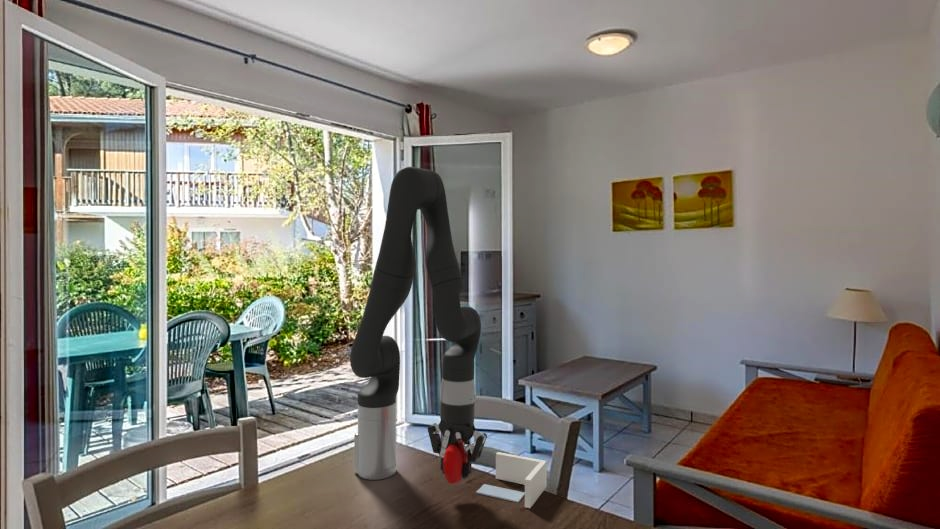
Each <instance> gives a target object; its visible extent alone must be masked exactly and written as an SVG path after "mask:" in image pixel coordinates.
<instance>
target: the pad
mask: <svg viewBox="0 0 940 529" xmlns="http://www.w3.org/2000/svg"><path fill="white" fill-rule="evenodd" d="M475 494H478V495H484V496H488V497H491V498H497V499H501V500H505V501H510V502H514V503H519V502H520V501H521V500H522V498H523V497H525V491H523V492H522V491H519V490H515V489H510V488H504V487H500V486H495V485H492V484H491V485H490V484H486V483H484V484H482V485H481V486H480V488H479V489H477V490H476V491H475Z"/></svg>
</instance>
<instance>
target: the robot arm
mask: <svg viewBox="0 0 940 529" xmlns="http://www.w3.org/2000/svg"><path fill="white" fill-rule="evenodd" d="M388 195H389V196H388V202H387V209H386V210H387V211H386V217H385V224H384V229H383V234H382V238H381V242H380V248H379V252H378V256H377V259H376V263H375V265H374V266H375V267H374V270H373V273H372V274H373V275H372V278H371V285H370V287H369V293H368V296H367V301H366V303H365V307H364V311H363V315H362V318H361V321H360V323H359V327H358V328H357V331H356V334H355V337H354V339H353V342H352V345H351V346H352V347H351V349H350V355H349V363H350V368H351V370H352V372H353V375H355V376H356V377H358V378H362V379H363V378H364V379H366V378H368V379H369V378H370V380H369V381H368V382H367V384H365V385H364V386H363V387H362V388H361V389H360V390H359V391H358V393H357V432H356V433H355V434H354V439H353V440H354V443H353V444H354V445H353V446H354V448H353V449H354V474H357V475H358V476H359V477H360V478H362V479H364V480H371V481H374V480H375V481H376V480H378V481H379V480H383V479H387V478H390V477H392V476H393V475H394V476H395V474H396V472H397V394H398V392H399V388H400V372H401V353H400V348H399V345H398V343H397V341H396V340H395V339H394V337H392V336H390V335H384V334H385V331H386V329H387V327H388V325H389V323H390V322H391V320H392V319H393V317H394V316H395V314H396V313H397V312H398V311H399V310H400V308H401V307H402V306H403V304H404V303H405V302H406V300H407V298H408V297H409V294H410V292H411V289H412V285H413V282H414V278H415V275H416V268H417V262H416V260H417V259H416V255H415V249H414V246H413V240H412V232H413V225H414V222H415V218H416V215H417V211H418V210H420V211H421V214H422V216H423V219H424V222H425V225H426V230H427V231H426V233H427V237H426V238H427V239H426V249H425V267H426V272H427V275H428V280H429V282H430V285H431V289H432V293H433V306H434V310H433V311H434V320H435V321H434V322H435V326H436V329H437V331H438V332H439V335H440V336H441V338H443V339H444V340H445V341H448V342H450V347H449V349H448V350H446V351H445V352H444V354H443V357H442V362H441V364H442V366H441V368H442V369H441V370H442V372H441V384H440V397H439V398H440V402H439V404H440V405H439V418H440V422H438V424H437V423H436V422H434V423H432V424H431V425H430V426H428V427H427V433H428V436H429V439H430V445H431V448H432V449H431V450H432V452H433V453H434V454H438V455H439V457H440V470H441V472H442V475H445V474H444V470H443V460H444V453H445V451H446V449H447V448H448V447H449V444H450V445H454V444H455V445H457V446H459V450H460V452H461V453H462V457H463V461H464V462H463V464H462V476H461V480H462V479H463V480H467V479H468V478H469V476H471V475H472V467H473V466H472V463H475V462H476V461H477V460H478V459H480V457H481V455H482V452H483V449H484V447H485V444H486V441H487V438H488V434H487V433H486V432H483V433H480V432H479V431H477V430H476V426H475V407H476V406H475V405H476V401H475V400H476V387H475V386H476V384H475V358H476V355H477V351H478V348H479V347H478V346H479V342H480V337H481V332H482V322H481V318H480V315H479V313H478V311H477V310H476V309H475V308H474V307H471V306H468V305H467V306H466V305H463V306H461V299H460V298H461V296H460V295H461V294H463V293H464V291H465V282H464V279H463V276H462V272H461V268H460V265H459V262H458V258H457V254H456V251H455V248H454V244H453V237H452V230H451V223H450V217H449V216H450V215H449V210H448V203H447V195H446V190H445V184H444V181H443V179H442V177H441V175H440V174H439V173H438V172H437V171H434V170H433V169H427V168H421V167H416V166H403V167H401V168H400V169H399V170H397V172H396V173H395V175H394V177H393V179H392V181H391V185H390V191H389V194H388ZM440 433H441V434H440ZM441 435H442V436H443V439H442V438H441ZM472 438H474V439H473V440H474V441H473V442H474V447H473V450H472V442H471V439H472Z"/></svg>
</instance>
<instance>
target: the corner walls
mask: <svg viewBox="0 0 940 529" xmlns="http://www.w3.org/2000/svg"><path fill="white" fill-rule="evenodd" d="M547 465H548V462H547V460H544V459H543V460H542V459H538V458H532V457H526V456H521V455H517V454H511V453H504V452H500V451H497V452H496V453H495V479H496V480H500V481H501V480H502V481H505V482H510V483H516V484H520V485H524V493H525V495H524V508H527V509H531V507H533V505H534V504H535V503H536V502H537V500H538V499H539V498H540V496H541V494H543V493H544V491H545V489H546V488H547V480H548V478H547V467H548V466H547Z"/></svg>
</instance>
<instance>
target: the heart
mask: <svg viewBox="0 0 940 529" xmlns="http://www.w3.org/2000/svg"><path fill="white" fill-rule="evenodd" d="M463 462H464V461H463V457H462V453H461V452H460V450H459V446H457V445H455V444H454V445H450V444H449V447H448V448H447V449H446V451H445V453H444V460H443V470H444V474H443V475H444V476H445V479H446V481H447V482H448V483H449V484H451V485H452V484H457V483H460V481H461V480H462V464H463Z"/></svg>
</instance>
